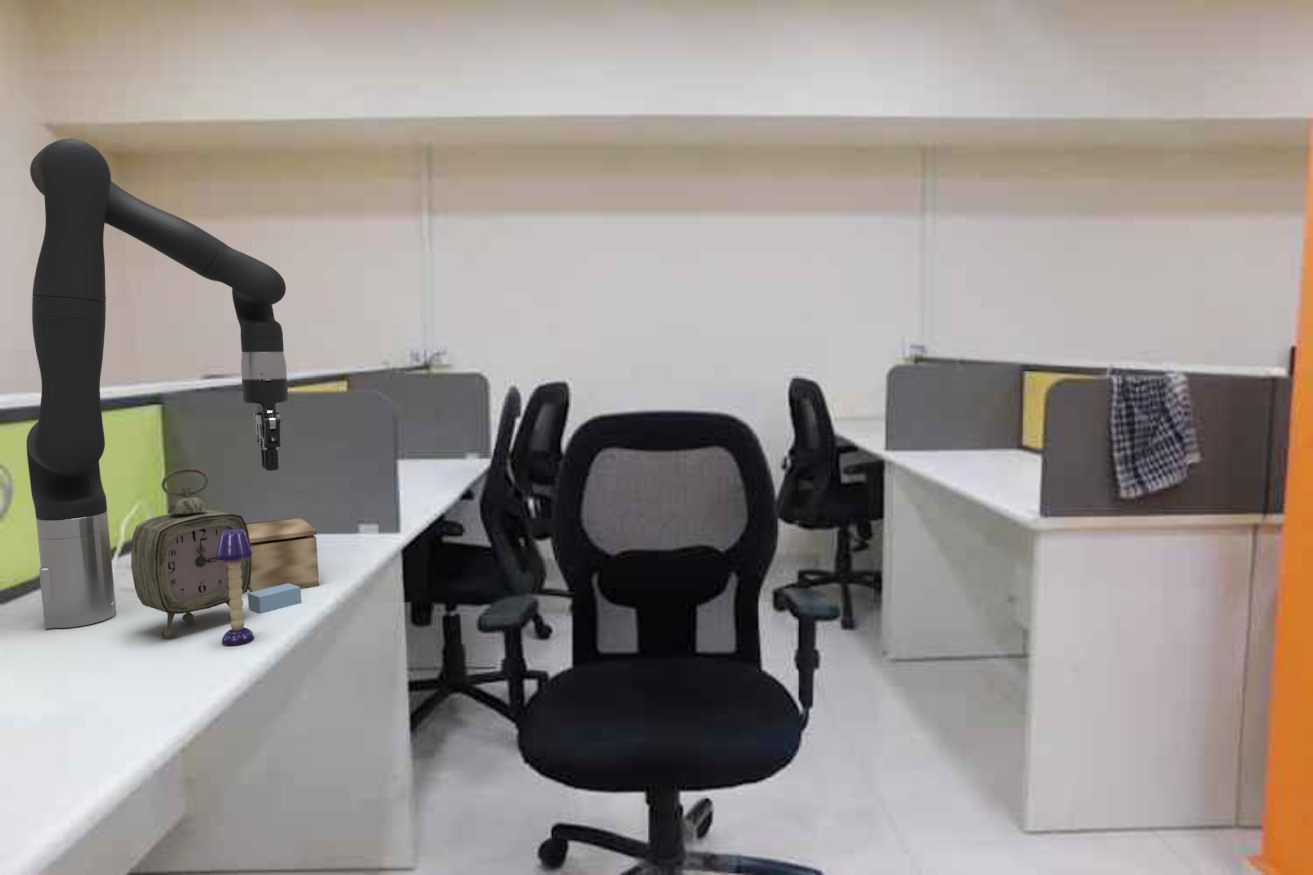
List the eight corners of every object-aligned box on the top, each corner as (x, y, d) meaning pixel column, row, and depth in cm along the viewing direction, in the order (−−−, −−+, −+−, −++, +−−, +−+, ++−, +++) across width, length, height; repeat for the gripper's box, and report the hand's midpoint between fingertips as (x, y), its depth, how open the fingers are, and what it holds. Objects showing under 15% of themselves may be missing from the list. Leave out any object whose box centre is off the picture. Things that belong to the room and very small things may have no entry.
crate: (252, 596, 140) (249, 546, 139) (241, 575, 153) (237, 530, 152) (319, 585, 146) (316, 537, 145) (302, 566, 159) (299, 522, 158)
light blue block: (260, 614, 131) (259, 597, 130) (248, 610, 133) (247, 592, 133) (301, 604, 136) (300, 587, 136) (289, 599, 138) (288, 583, 138)
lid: (247, 543, 139) (247, 538, 139) (236, 529, 152) (236, 525, 152) (317, 534, 145) (316, 530, 145) (301, 522, 158) (300, 518, 158)
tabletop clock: (160, 644, 117) (147, 476, 114) (131, 633, 122) (117, 472, 119) (255, 616, 129) (245, 464, 126) (225, 607, 134) (214, 460, 131)
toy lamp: (224, 636, 120) (217, 528, 118) (259, 632, 121) (252, 525, 119) (219, 647, 115) (211, 535, 113) (255, 643, 117) (248, 532, 115)
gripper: (237, 376, 151) (243, 466, 153) (246, 378, 139) (253, 475, 141) (280, 375, 155) (285, 463, 157) (293, 377, 143) (298, 471, 145)
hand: (270, 468), depth 149 cm, fingers open, 3 cm apart
